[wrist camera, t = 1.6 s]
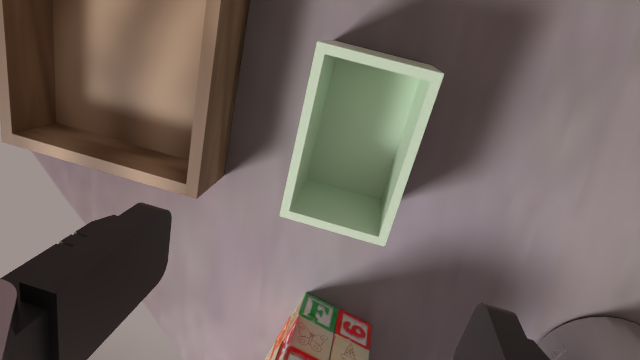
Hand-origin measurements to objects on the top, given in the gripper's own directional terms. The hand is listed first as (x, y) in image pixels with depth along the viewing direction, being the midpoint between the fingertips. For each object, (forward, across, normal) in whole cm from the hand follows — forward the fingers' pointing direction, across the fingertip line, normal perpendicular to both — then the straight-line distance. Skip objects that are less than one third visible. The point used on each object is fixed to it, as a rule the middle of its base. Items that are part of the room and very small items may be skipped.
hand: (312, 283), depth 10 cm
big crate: (+18, +16, -1) cm, 24 cm away
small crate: (+18, 0, 0) cm, 18 cm away
